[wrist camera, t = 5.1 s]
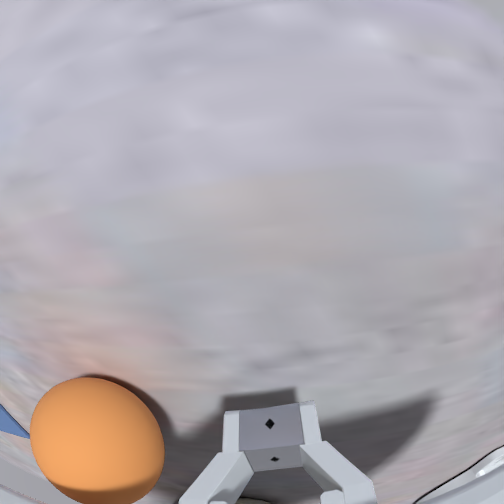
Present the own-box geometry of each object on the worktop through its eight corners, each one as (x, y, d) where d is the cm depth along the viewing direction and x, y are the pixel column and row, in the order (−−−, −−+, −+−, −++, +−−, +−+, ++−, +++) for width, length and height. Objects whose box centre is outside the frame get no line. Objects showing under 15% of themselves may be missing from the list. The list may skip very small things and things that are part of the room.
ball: (143, 345, 10) (100, 483, 6) (190, 426, 13) (178, 532, 8) (37, 349, 11) (-17, 448, 6) (95, 424, 13) (68, 510, 8)
